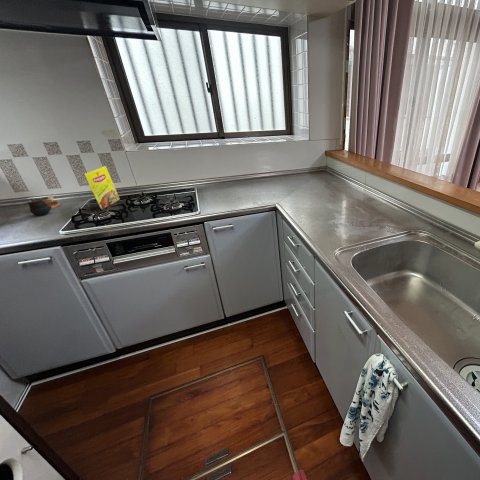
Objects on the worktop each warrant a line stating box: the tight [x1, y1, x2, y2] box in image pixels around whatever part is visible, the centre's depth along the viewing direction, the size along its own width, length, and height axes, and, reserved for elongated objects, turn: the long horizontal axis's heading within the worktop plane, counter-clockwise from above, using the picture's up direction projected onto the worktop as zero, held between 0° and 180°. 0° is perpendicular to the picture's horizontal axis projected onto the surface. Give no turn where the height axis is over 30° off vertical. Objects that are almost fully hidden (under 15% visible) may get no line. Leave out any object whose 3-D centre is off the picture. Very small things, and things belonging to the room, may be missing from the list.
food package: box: [84, 165, 121, 210], centre depth 148 cm, size 15×1×20 cm, turn 179°
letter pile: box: [38, 196, 61, 210], centre depth 149 cm, size 9×9×5 cm
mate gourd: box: [27, 198, 51, 217], centre depth 139 cm, size 7×8×10 cm
